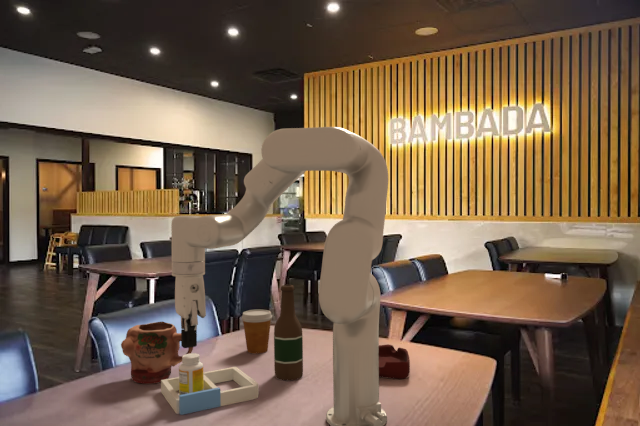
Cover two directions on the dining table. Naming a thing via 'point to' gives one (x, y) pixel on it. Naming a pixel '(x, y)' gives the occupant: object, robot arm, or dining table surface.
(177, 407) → the white divided tray
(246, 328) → the disposable coffee cup
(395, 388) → the dining table surface
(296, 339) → the beer bottle
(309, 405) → the dining table surface
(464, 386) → the dining table surface
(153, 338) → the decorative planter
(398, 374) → the ashtray
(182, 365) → the supplement bottle
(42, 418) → the dining table surface
